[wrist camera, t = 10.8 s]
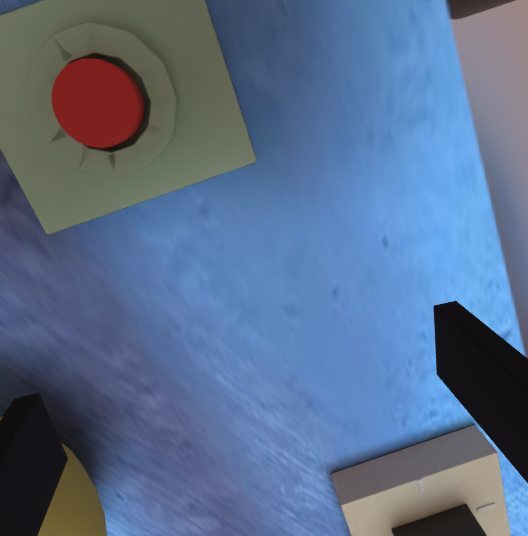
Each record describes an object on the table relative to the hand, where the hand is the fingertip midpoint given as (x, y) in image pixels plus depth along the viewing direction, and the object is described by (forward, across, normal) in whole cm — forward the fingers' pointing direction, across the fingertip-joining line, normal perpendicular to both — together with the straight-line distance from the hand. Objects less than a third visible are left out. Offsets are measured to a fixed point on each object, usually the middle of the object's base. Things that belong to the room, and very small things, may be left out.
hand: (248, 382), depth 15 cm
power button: (+10, -4, +9) cm, 15 cm away
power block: (+14, -4, +10) cm, 17 cm away
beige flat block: (+14, +10, -24) cm, 29 cm away
